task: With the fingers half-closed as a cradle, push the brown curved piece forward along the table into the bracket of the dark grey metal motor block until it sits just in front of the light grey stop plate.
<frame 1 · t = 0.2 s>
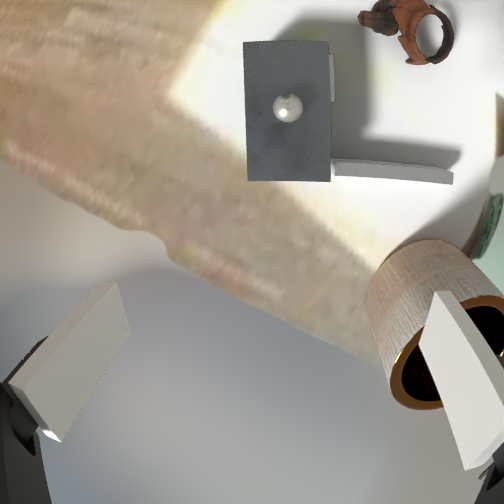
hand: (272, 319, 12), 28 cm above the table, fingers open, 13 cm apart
planter: (418, 291, 41), on the table
motor bracket: (338, 114, 33), on the table
brown curved piece: (395, 31, 27), on the table
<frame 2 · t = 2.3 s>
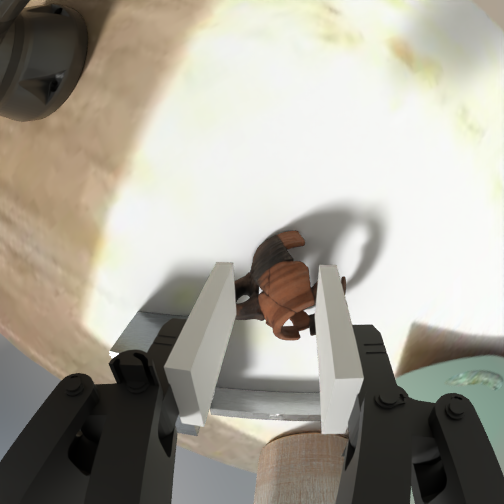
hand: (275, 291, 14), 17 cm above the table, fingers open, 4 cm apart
planter: (308, 451, 46), on the table
motor bracket: (218, 361, 38), on the table
brown curved piece: (285, 275, 32), on the table
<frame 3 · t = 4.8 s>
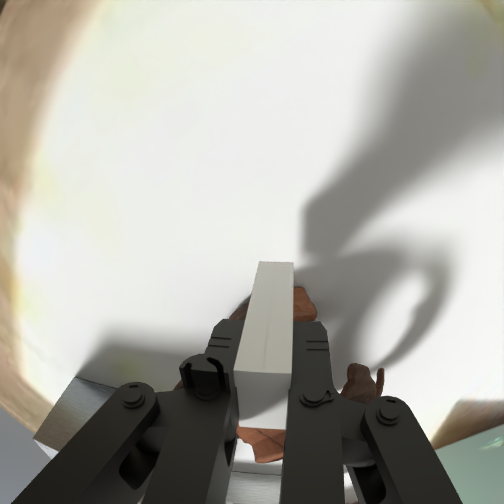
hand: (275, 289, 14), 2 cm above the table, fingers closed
motor bracket: (186, 442, 24), on the table
brown curved piece: (279, 353, 18), on the table, touching gripper
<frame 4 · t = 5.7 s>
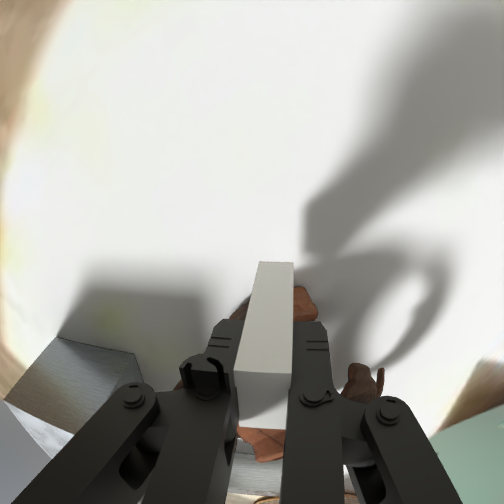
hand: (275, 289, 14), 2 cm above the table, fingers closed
motor bracket: (176, 415, 23), on the table
brown curved piece: (279, 352, 19), on the table, touching gripper
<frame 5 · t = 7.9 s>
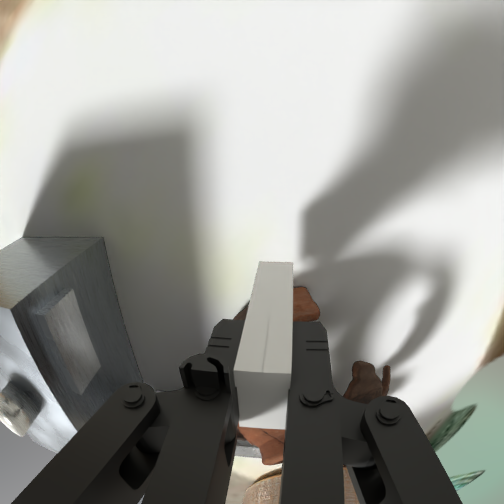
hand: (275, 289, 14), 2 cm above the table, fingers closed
planter: (320, 490, 27), on the table
motor bracket: (152, 337, 19), on the table
brown curved piece: (284, 354, 18), on the table, touching gripper, motor bracket
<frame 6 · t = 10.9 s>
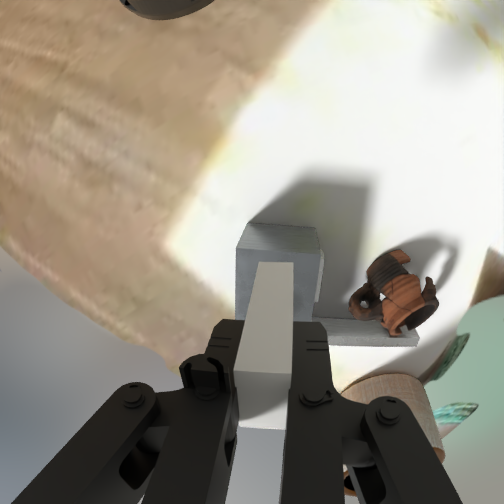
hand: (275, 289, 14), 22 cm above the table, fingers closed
planter: (377, 402, 46), on the table
motor bracket: (324, 281, 38), on the table
brown curved piece: (386, 284, 38), on the table
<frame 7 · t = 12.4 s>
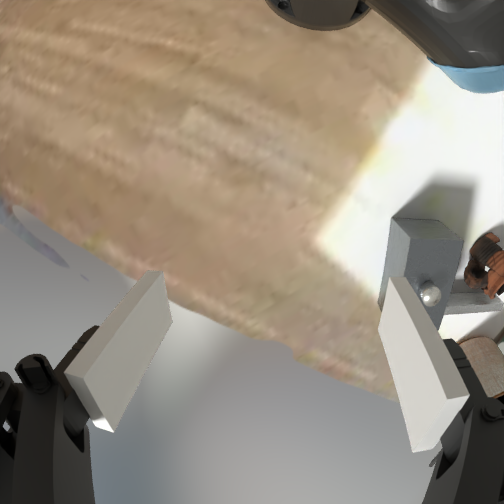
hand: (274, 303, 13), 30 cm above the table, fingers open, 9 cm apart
planter: (462, 366, 50), on the table
motor bracket: (441, 263, 41), on the table
brown curved piece: (480, 260, 40), on the table
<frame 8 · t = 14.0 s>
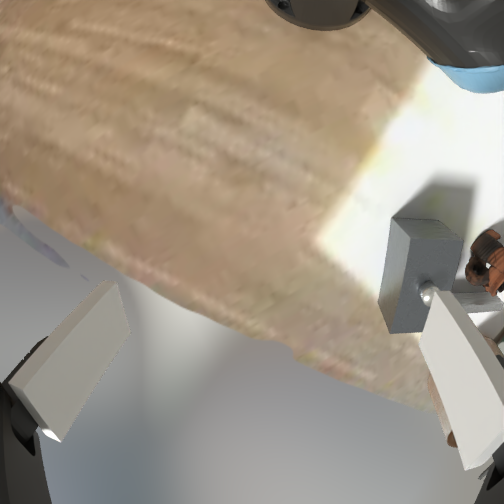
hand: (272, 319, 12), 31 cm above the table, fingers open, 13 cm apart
planter: (462, 365, 50), on the table
motor bracket: (441, 263, 41), on the table
brown curved piece: (481, 257, 40), on the table
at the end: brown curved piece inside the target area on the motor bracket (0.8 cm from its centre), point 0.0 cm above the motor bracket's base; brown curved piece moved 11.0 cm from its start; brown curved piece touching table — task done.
